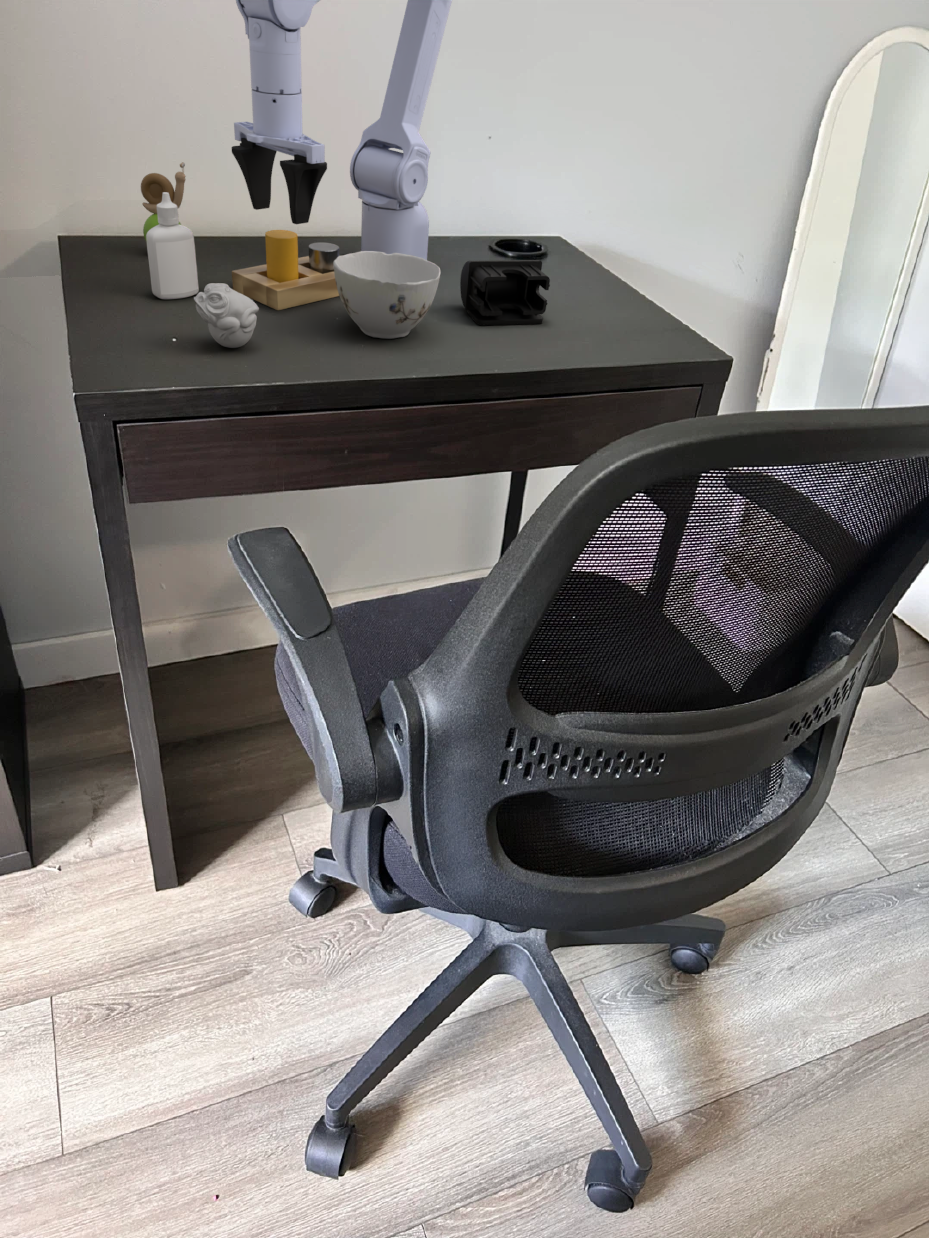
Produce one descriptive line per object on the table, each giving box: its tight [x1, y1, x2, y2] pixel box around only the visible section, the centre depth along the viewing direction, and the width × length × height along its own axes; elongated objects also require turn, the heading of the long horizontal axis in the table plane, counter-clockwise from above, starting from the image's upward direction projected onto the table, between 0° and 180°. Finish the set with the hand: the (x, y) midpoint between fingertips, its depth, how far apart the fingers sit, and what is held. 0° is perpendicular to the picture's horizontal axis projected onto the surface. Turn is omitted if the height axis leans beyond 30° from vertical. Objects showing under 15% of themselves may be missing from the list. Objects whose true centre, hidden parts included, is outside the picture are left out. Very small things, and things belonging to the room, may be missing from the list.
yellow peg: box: [264, 229, 299, 283], centre depth 118 cm, size 4×4×8 cm
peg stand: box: [231, 255, 340, 311], centre depth 121 cm, size 9×16×2 cm, turn 138°
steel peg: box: [308, 241, 340, 274], centre depth 123 cm, size 4×4×5 cm
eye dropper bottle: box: [145, 192, 200, 300], centre depth 112 cm, size 4×6×12 cm
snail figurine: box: [140, 161, 187, 243], centre depth 126 cm, size 5×6×12 cm
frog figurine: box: [193, 282, 260, 349], centre depth 102 cm, size 6×7×7 cm
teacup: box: [333, 250, 442, 340], centre depth 111 cm, size 15×12×8 cm
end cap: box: [459, 259, 551, 326], centre depth 118 cm, size 10×7×7 cm
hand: (280, 215), depth 114 cm, fingers open, 7 cm apart
